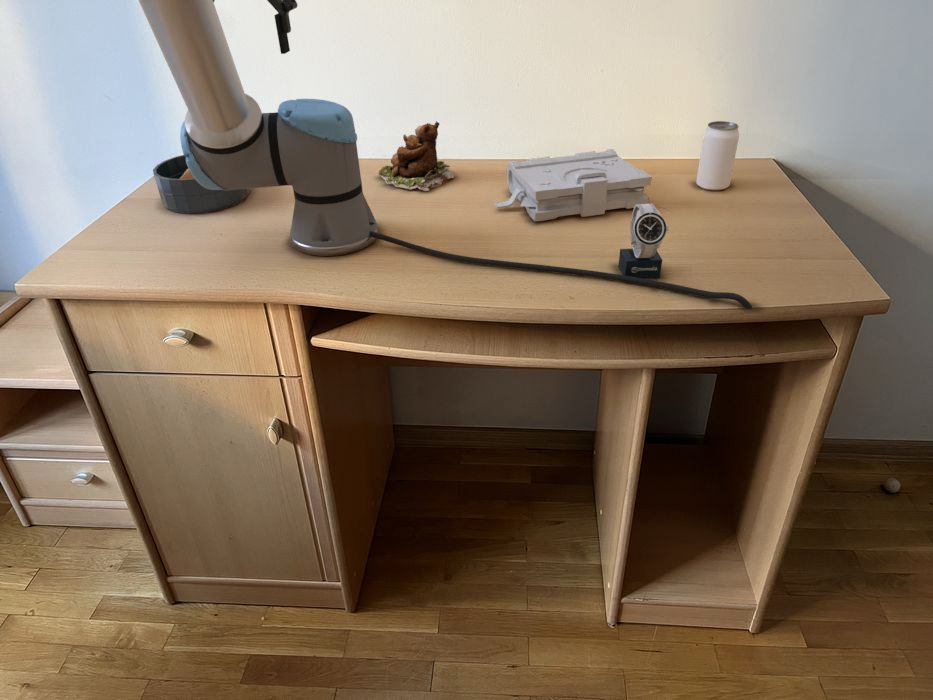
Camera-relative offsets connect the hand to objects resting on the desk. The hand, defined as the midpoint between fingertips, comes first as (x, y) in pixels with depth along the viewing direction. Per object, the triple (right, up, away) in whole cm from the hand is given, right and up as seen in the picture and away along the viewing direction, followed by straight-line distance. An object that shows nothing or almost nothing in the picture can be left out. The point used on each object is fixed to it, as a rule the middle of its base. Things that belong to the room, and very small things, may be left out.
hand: (251, 52), depth 127 cm
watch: (+68, -44, -20) cm, 84 cm away
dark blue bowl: (-13, -25, +12) cm, 30 cm away
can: (+91, -23, +9) cm, 94 cm away
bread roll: (-13, -24, +12) cm, 30 cm away
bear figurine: (+30, -19, +18) cm, 40 cm away
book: (+60, -27, +5) cm, 66 cm away
